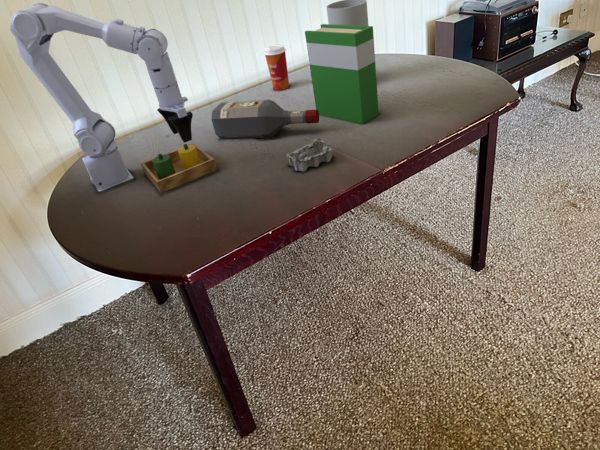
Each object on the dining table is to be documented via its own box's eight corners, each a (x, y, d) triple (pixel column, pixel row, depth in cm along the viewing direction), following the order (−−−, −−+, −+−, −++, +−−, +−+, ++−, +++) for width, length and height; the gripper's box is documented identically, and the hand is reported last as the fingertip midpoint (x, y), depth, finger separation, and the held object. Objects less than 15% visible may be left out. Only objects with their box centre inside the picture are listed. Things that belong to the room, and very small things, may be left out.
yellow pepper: (187, 172, 121) (179, 150, 118) (181, 166, 125) (173, 145, 121) (203, 166, 123) (196, 144, 119) (197, 160, 126) (190, 139, 123)
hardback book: (316, 114, 141) (304, 31, 128) (332, 105, 145) (322, 24, 131) (362, 123, 130) (354, 34, 116) (378, 113, 134) (372, 26, 120)
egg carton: (323, 150, 121) (321, 135, 118) (336, 160, 115) (334, 145, 112) (285, 163, 118) (283, 148, 116) (297, 174, 112) (294, 159, 110)
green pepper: (166, 182, 119) (157, 160, 115) (155, 178, 121) (146, 157, 118) (179, 173, 121) (172, 151, 118) (169, 170, 124) (161, 149, 120)
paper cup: (267, 88, 168) (259, 48, 160) (286, 82, 170) (280, 43, 163) (275, 93, 162) (268, 52, 154) (295, 87, 164) (288, 46, 156)
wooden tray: (161, 194, 115) (156, 182, 113) (145, 175, 125) (140, 163, 123) (217, 171, 120) (214, 159, 118) (197, 154, 131) (193, 142, 129)
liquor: (228, 128, 143) (323, 124, 134) (217, 142, 136) (316, 138, 127) (221, 100, 138) (319, 93, 129) (208, 112, 131) (311, 106, 122)
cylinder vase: (330, 82, 163) (320, 5, 149) (363, 73, 165) (356, -4, 151) (343, 92, 153) (334, 10, 139) (378, 82, 155) (373, 1, 141)
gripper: (191, 85, 107) (207, 139, 115) (171, 74, 118) (187, 124, 126) (162, 95, 105) (181, 149, 112) (144, 82, 115) (162, 133, 123)
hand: (182, 136), depth 119 cm, fingers open, 7 cm apart
